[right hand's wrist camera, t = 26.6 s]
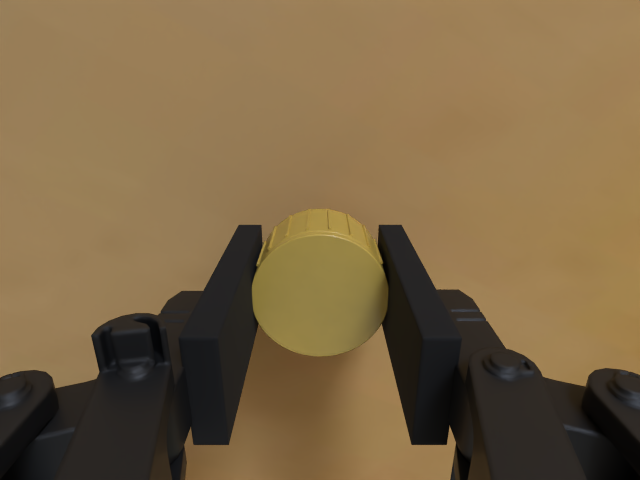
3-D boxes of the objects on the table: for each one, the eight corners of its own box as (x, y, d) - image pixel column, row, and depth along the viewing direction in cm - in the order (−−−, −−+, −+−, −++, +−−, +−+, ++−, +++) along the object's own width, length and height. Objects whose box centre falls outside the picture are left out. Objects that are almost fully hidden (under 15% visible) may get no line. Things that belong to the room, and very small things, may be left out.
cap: (378, 315, 15) (388, 357, 13) (264, 317, 15) (254, 359, 13) (382, 206, 14) (394, 232, 11) (256, 208, 14) (243, 234, 12)
